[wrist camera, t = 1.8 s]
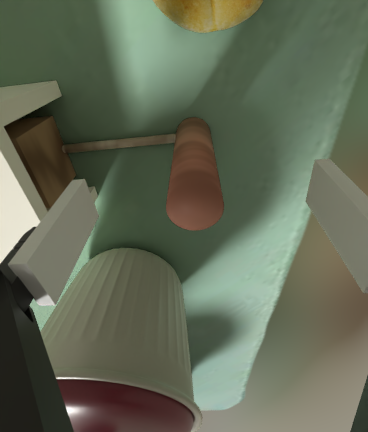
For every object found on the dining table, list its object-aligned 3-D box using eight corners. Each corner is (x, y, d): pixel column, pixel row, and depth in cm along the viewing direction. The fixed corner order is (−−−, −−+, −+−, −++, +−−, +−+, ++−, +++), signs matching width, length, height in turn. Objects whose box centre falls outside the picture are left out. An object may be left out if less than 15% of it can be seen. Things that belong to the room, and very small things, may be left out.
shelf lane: (97, 195, 28) (62, 260, 20) (12, 202, 29) (-54, 267, 21) (56, 80, 21) (-22, 110, 13) (-54, 93, 22) (-189, 129, 14)
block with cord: (211, 163, 25) (224, 246, 16) (22, 179, 27) (-73, 264, 17) (208, 98, 22) (223, 154, 12) (-10, 122, 23) (-150, 188, 14)
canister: (62, 296, 39) (-36, 502, 22) (75, 206, 29) (-88, 459, 12) (173, 321, 43) (161, 516, 26) (219, 249, 32) (251, 492, 15)
